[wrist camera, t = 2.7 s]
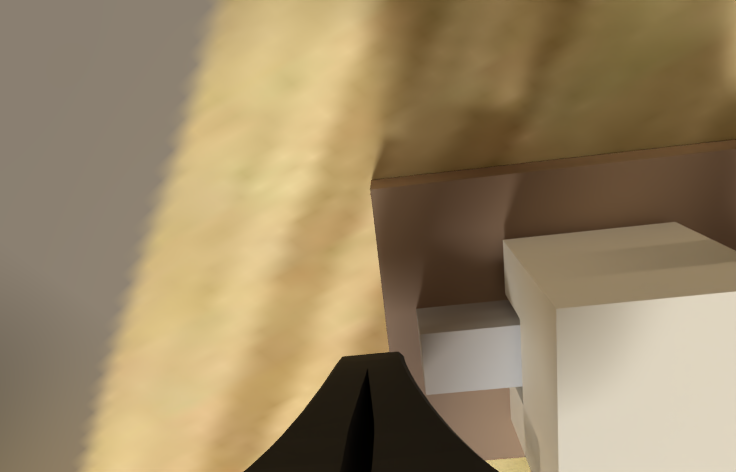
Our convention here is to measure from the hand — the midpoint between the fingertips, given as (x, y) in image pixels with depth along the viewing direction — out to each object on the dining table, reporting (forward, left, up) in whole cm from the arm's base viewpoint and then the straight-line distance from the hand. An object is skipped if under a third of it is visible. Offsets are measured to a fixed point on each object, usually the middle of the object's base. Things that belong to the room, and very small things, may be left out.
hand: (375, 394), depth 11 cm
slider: (-5, 0, -2) cm, 6 cm away
